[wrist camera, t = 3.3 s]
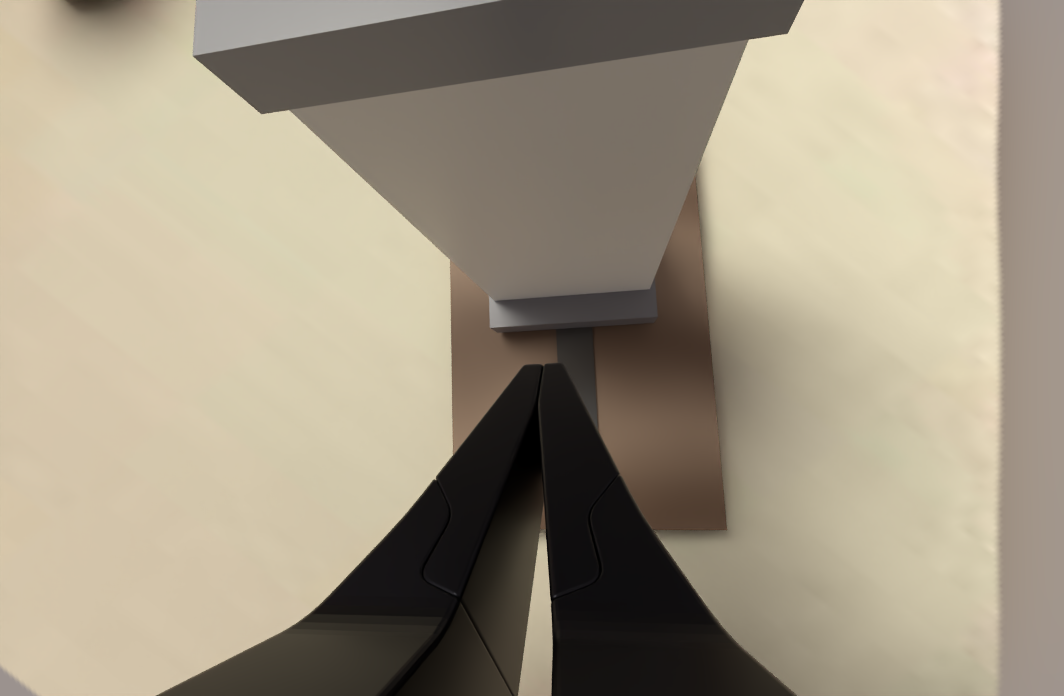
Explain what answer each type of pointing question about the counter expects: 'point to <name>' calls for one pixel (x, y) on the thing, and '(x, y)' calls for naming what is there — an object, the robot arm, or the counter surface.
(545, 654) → the counter surface
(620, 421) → the slider base
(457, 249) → the fader tab
